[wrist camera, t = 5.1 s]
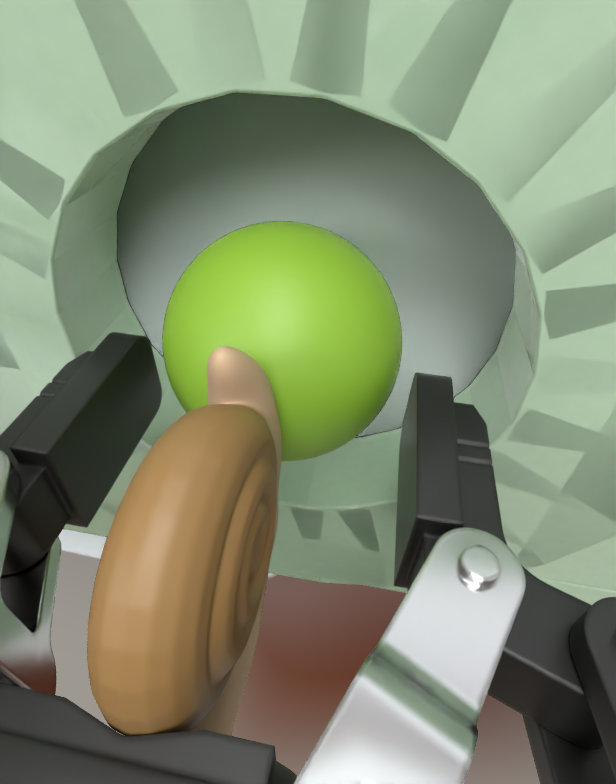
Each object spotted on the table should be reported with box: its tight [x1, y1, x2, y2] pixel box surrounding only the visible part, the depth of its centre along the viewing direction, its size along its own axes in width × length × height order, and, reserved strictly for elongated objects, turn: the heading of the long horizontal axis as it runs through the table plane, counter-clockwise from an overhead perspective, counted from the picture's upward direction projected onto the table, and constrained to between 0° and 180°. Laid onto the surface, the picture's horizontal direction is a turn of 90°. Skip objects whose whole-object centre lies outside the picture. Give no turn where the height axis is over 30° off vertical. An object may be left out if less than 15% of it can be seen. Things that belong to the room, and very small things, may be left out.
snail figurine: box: [87, 221, 402, 736], centre depth 9 cm, size 5×6×12 cm
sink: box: [0, 0, 616, 605], centre depth 11 cm, size 21×32×3 cm, turn 89°
